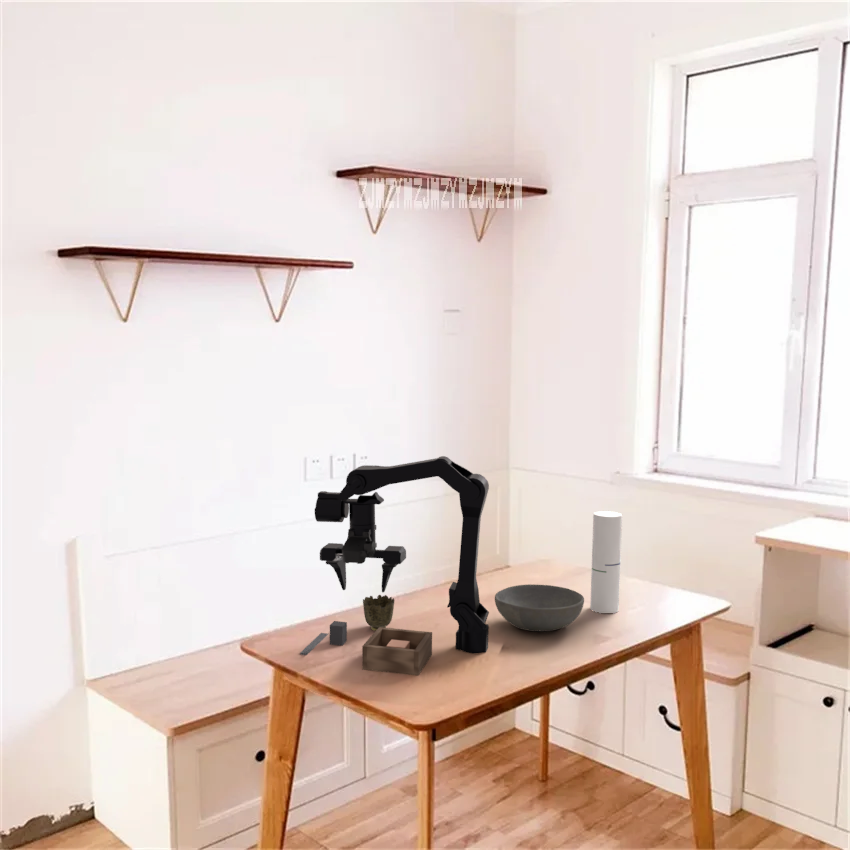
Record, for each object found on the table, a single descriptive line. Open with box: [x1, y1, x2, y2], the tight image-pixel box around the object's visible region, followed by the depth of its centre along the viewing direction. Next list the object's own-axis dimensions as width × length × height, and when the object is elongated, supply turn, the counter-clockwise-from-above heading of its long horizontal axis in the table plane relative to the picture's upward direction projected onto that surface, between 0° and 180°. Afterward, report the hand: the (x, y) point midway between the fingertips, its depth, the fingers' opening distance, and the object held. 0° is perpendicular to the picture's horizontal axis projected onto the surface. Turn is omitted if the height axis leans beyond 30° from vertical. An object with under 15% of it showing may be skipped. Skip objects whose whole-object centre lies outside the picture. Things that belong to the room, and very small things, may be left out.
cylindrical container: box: [589, 510, 623, 614], centre depth 226 cm, size 7×7×25 cm
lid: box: [299, 620, 348, 656], centre depth 199 cm, size 13×13×6 cm
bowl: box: [494, 583, 585, 632], centre depth 213 cm, size 21×21×8 cm
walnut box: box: [361, 627, 433, 677], centre depth 188 cm, size 12×12×6 cm
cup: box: [362, 594, 395, 632], centre depth 208 cm, size 8×7×8 cm
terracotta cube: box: [386, 640, 410, 649], centre depth 188 cm, size 4×4×4 cm
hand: (363, 590), depth 199 cm, fingers open, 9 cm apart
